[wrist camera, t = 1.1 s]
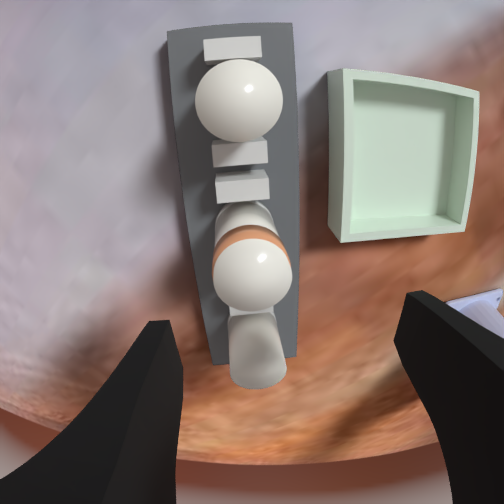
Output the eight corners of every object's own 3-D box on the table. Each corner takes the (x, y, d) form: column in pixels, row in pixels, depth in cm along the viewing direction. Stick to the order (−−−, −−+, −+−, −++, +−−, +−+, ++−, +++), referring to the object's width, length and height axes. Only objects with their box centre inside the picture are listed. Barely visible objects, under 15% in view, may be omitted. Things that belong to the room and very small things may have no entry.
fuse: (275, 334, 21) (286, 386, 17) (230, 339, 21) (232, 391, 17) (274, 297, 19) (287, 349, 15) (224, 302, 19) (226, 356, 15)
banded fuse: (274, 247, 18) (293, 308, 13) (217, 253, 18) (217, 316, 13) (272, 193, 16) (293, 239, 11) (211, 199, 16) (206, 247, 11)
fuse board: (293, 345, 23) (300, 374, 20) (213, 353, 23) (213, 384, 20) (287, 27, 13) (300, 14, 11) (170, 35, 13) (159, 23, 10)
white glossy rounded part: (268, 128, 15) (285, 140, 11) (205, 133, 15) (198, 146, 11) (264, 68, 13) (281, 57, 9) (200, 73, 13) (191, 63, 9)
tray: (444, 217, 19) (464, 231, 17) (327, 225, 19) (340, 242, 17) (455, 88, 15) (479, 91, 13) (327, 71, 14) (342, 68, 12)
